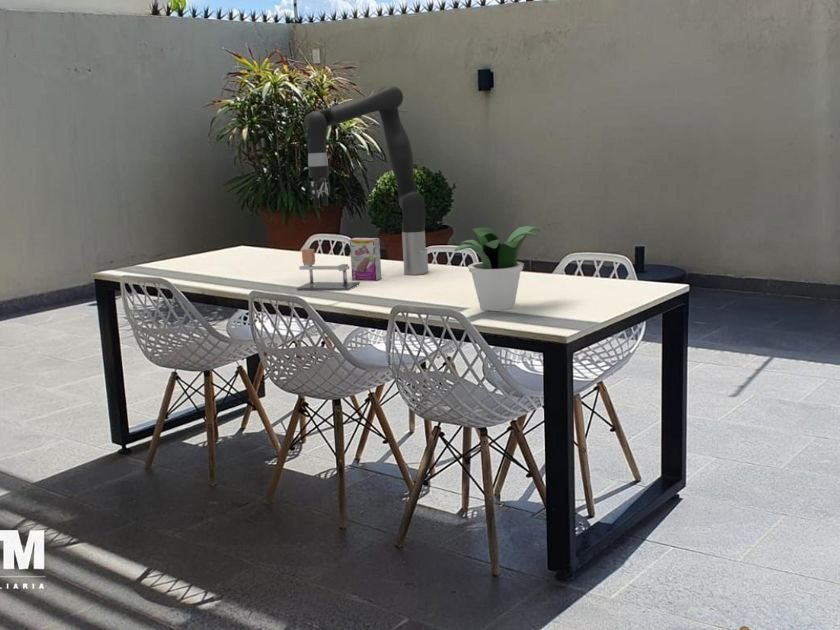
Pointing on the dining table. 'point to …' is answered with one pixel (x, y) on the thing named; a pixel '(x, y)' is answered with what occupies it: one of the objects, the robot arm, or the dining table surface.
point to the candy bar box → (365, 258)
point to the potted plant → (496, 267)
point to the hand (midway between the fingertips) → (321, 206)
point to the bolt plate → (329, 285)
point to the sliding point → (309, 260)
